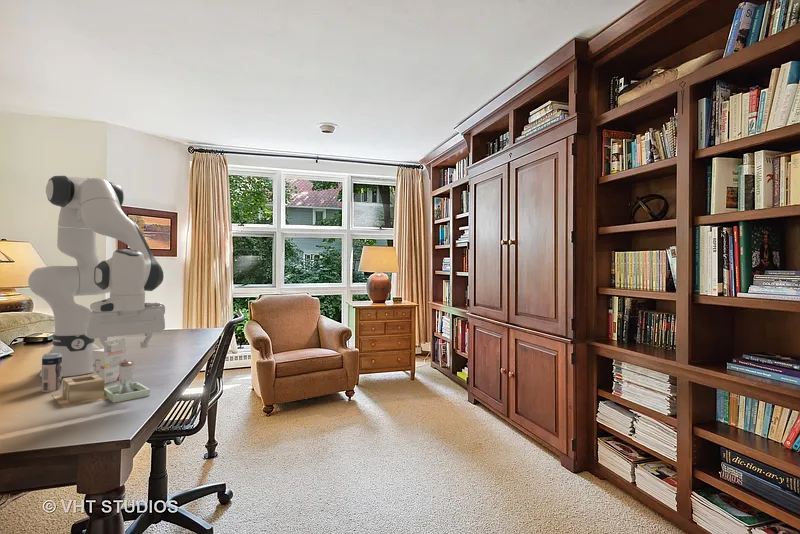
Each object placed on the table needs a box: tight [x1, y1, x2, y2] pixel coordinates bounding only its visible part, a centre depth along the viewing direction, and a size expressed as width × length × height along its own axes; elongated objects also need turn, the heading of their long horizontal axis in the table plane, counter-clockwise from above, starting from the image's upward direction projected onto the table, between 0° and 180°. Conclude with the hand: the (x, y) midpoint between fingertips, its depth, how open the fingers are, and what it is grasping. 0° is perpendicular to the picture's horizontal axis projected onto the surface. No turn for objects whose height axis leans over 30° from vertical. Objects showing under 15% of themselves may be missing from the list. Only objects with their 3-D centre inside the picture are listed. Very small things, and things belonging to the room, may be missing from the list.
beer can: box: [41, 353, 63, 393], centre depth 128 cm, size 5×5×12 cm
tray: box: [104, 381, 151, 403], centre depth 124 cm, size 11×9×3 cm
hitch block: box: [51, 373, 109, 409], centre depth 122 cm, size 16×12×6 cm
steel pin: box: [118, 360, 135, 395], centre depth 124 cm, size 4×4×10 cm
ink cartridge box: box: [92, 337, 127, 385], centre depth 139 cm, size 9×5×15 cm, turn 168°
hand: (126, 349), depth 124 cm, fingers open, 8 cm apart
